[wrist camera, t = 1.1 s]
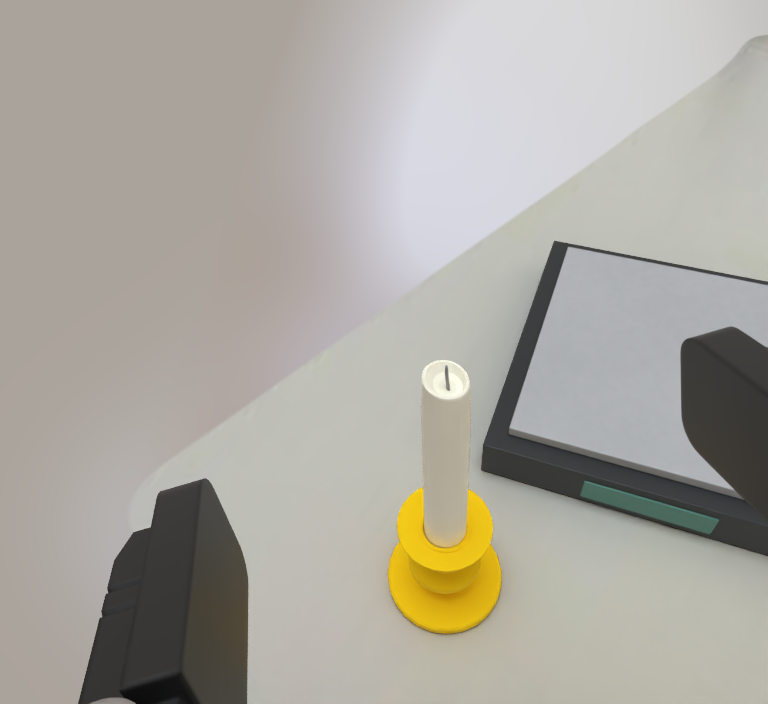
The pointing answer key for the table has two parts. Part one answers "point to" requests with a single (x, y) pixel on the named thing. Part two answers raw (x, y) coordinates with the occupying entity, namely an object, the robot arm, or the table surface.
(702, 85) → the table surface
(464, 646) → the table surface
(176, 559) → the robot arm
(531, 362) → the kitchen scale
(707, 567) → the table surface
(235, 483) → the table surface
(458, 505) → the candle
